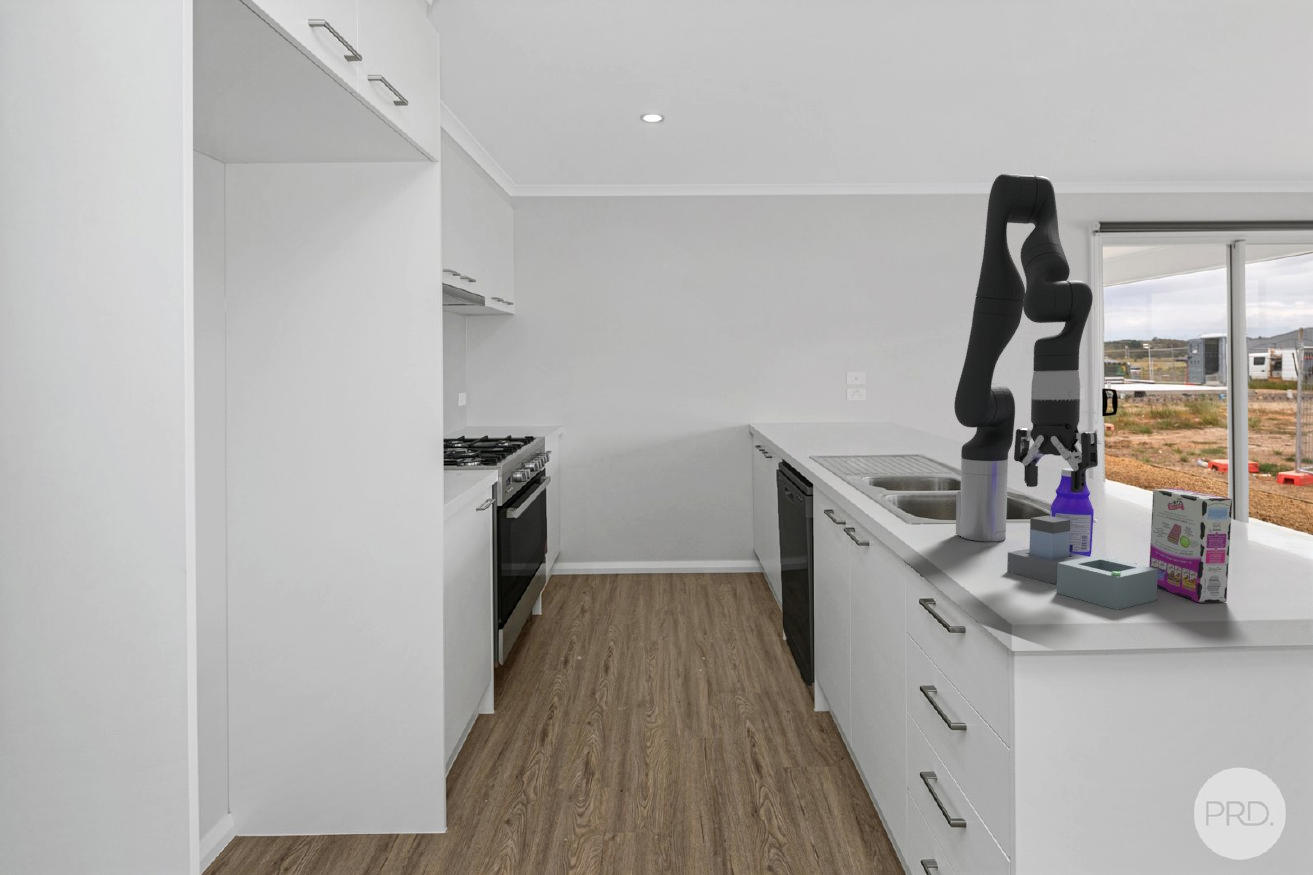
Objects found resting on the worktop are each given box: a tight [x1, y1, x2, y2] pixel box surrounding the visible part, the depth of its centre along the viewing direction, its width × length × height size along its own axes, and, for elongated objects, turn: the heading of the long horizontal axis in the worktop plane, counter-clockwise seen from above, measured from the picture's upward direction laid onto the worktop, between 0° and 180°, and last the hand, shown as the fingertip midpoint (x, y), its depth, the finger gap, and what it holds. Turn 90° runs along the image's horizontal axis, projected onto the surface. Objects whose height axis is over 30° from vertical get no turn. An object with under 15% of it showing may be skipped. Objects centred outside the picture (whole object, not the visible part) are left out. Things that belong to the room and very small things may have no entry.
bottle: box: [1049, 467, 1095, 557], centre depth 145 cm, size 7×6×17 cm
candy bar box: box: [1148, 488, 1234, 604], centre depth 122 cm, size 11×5×16 cm, turn 5°
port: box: [1056, 555, 1158, 611], centre depth 121 cm, size 10×10×5 cm
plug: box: [1029, 515, 1070, 560], centre depth 135 cm, size 4×4×10 cm
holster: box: [1006, 548, 1088, 585], centre depth 135 cm, size 10×10×4 cm
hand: (1053, 489), depth 134 cm, fingers open, 8 cm apart
